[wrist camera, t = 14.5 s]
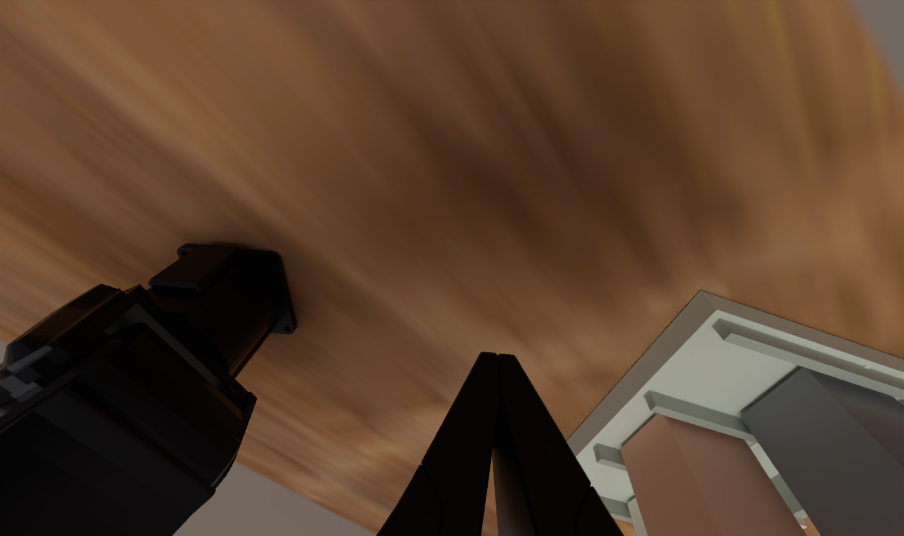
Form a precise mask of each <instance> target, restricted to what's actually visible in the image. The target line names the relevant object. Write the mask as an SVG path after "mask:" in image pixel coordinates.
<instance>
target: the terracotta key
mask: <svg viewBox="0 0 904 536" xmlns="http://www.w3.org/2000/svg"><path fill="white" fill-rule="evenodd" d="M620 451H621V454H622V457H623V460H624V463H625V466H626V470H627V473H628V476H629V479H630V482H631V485H632V488H633V491H634V494H635V498H636V501H637V504H638V507H639V510H640V513H641V516H642V519H643V523H644V526H645V529H646V532H647V535H648V536H807V535H806V533H805V532H804V530H803V529H802V527H801V526H800V524H799V523H798V521H797V520H796V518H795V516H794V515H793V513H792V512H791V510H790V509H789V507H788V506H787V504H786V503H785V501H784V499H783V498H782V496H781V495H780V493H779V492H778V490H777V489H776V487H775V486H774V484H773V482H772V481H771V479H770V478H769V476H768V475H767V473H766V472H765V470H764V469H763V467H762V465H761V464H760V462H759V461H758V459H757V458H756V456H755V455H754V453H753V452H752V450H751V448H750V447H749V445H748V444H747V442H746V441H745V440H744V439H741V438H738V437H734V436H731V435H728V434H724V433H721V432H718V431H714V430H711V429H708V428H704V427H701V426H698V425H694V424H691V423H688V422H685V421H681V420H678V419H675V418H671V417H668V416H665V415H661V414H657V415H656V416H655V417H654V418H653V419H651V420H650V421H649V422H648V423H647V424H646V425H645V426H644V427H643V428H642V429H641V430H640V431H639V432H638V433H637V434H636V435H634V436H633V437H632V438H631V439H630V440H629V441H628V442H627V443H626V444H625V445H624V446H623V447H622V448H621V449H620Z"/></svg>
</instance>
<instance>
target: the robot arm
mask: <svg viewBox="0 0 904 536" xmlns="http://www.w3.org/2000/svg"><path fill="white" fill-rule="evenodd" d="M177 254H178V256H179V260H177V261H176V262H174V263H173V264H172V265H170V266H169V267H167V268H166V269H164V270H163V271H161V272H160V273H158V274H157V275H155V276H154V277H152V278H151V279H150V281H149V282H148V284H149V286H150V288H149V289H147V290H145V289H144V288H143V287H142V286H141V285H140V284H139V285H137V286H134V287H132V288H130V289H127V290H125V291H122V290H121V289H119V288H118V289H116V288H113V287H110V286H107V285H104V284H100V285H98V286H95V287H93V288H92V289H90V290H88V291H87V292H85V293H83V294H82V295H80V296H78V297H77V298H75V299H73V300H72V301H70V302H69V303H67V304H65V305H64V306H62V307H61V308H59V309H57V310H56V311H54V312H53V313H51V314H50V315H48V316H47V317H46V318H44V319H43V320H41V321H40V322H39V323H37V324H36V325H34V326H33V327H32V328H30V329H29V330H28V331H26V332H25V333H23V334H22V335H21V336H19V337H18V338H17V339H15V340H14V341H12V342H11V343H10V344H8V345H7V346H6V351H5V356H4V361H3V362H2V363H1V364H0V536H172V535H173V534H174V533H175V532H176V531H177V530H178V529H179V528H180V527H181V526H182V525H183V523H184V522H185V521H186V520H187V519H188V518H189V517H190V516H191V515H192V514H193V513H194V512H195V511H196V510H198V509H199V508H200V507H201V506H202V505H203V504H204V503H205V502H207V501H208V500H209V499H210V498H211V497H212V496H213V495H214V493H215V491H216V487H217V486H218V485H219V484H220V483H221V481H222V480H223V479H224V478H225V476H226V475H227V473H228V472H229V470H230V468H231V467H232V465H233V463H234V461H235V458H236V456H237V453H238V450H239V448H240V445H241V442H242V439H243V436H244V434H245V431H246V428H247V425H248V423H249V420H250V417H251V414H252V412H253V409H254V406H255V403H256V401H257V397H256V396H255V395H254V394H252V393H251V392H248V391H247V390H246V389H245V388H244V387H243V386H242V385H241V384H240V383H239V382H238V381H236V380H235V378H236V377H237V376H238V374H239V373H240V372H241V370H242V369H243V368H244V367H245V365H246V364H247V363H248V361H249V360H250V359H251V357H252V356H253V355H254V354H255V352H256V351H257V350H258V348H259V347H260V346H261V345H262V343H263V342H264V341H265V339H266V338H267V337H268V335H269V334H270V333H271V332H272V333H281V334H292V333H294V331H295V330H296V328H297V325H296V321H295V317H294V313H293V308H292V304H291V300H290V296H289V292H288V288H287V284H286V280H285V276H284V271H283V267H282V263H281V259H280V257H279V256H278V255H277V254H275V253H273V252H266V251H255V250H244V249H240V248H236V247H225V246H214V245H204V244H202V245H189V244H184V245H183V246H181V247H179V248H178V249H177ZM269 259H271V260H272V261H273V262H271V261H270V260H269ZM491 458H492V462H493V474H494V486H495V498H496V510H497V523H498V535H499V536H624V535H623V533H622V532H621V530H620V528H619V527H618V525H617V524H616V522H615V520H614V519H613V517H612V516H611V514H610V513H609V511H608V509H607V508H606V506H605V505H604V503H603V501H602V500H601V498H600V496H599V495H598V493H597V491H596V489H595V488H594V487H593V486H591V481H590V480H589V478H588V476H587V475H586V473H585V471H584V470H583V468H582V466H581V465H580V463H579V461H578V460H577V458H576V456H575V455H574V453H573V451H572V450H571V448H570V446H569V445H568V443H567V441H566V440H565V438H564V436H563V435H562V433H561V431H560V430H559V428H558V426H557V425H556V423H555V421H554V420H553V418H552V416H551V415H550V413H549V411H548V410H547V408H546V406H545V405H544V403H543V401H542V400H541V398H540V396H539V395H538V393H537V391H536V390H535V388H534V386H533V385H532V383H531V381H530V380H529V378H528V376H527V375H526V373H525V371H524V370H523V368H522V366H521V365H520V363H519V361H518V360H517V358H516V357H515V356H514V355H511V354H498V356H497V354H496V353H492V352H481V353H480V354H479V356H478V358H477V360H476V362H475V364H474V365H473V367H472V369H471V371H470V373H469V375H468V376H467V378H466V380H465V382H464V384H463V386H462V388H461V389H460V391H459V393H458V395H457V397H456V399H455V401H454V402H453V404H452V406H451V408H450V410H449V412H448V413H447V415H446V417H445V419H444V421H443V423H442V425H441V426H440V428H439V430H438V432H437V434H436V436H435V437H434V439H433V441H432V443H431V445H430V447H429V449H428V450H427V452H426V454H425V456H424V458H423V460H422V462H421V465H419V467H418V468H417V470H416V472H415V474H414V476H413V478H412V480H411V481H410V483H409V485H408V486H407V488H406V490H405V492H404V493H403V495H402V497H401V498H400V500H399V502H398V504H397V505H396V507H395V508H394V510H393V511H392V513H391V514H390V516H389V517H388V519H387V520H386V522H385V523H384V525H383V526H382V528H381V529H380V531H379V532H378V534H377V535H376V536H481V532H482V525H483V517H484V510H485V502H486V495H487V488H488V480H489V473H490V466H491ZM590 486H591V487H590Z"/></svg>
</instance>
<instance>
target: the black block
mask: <svg viewBox="0 0 904 536" xmlns="http://www.w3.org/2000/svg"><path fill="white" fill-rule="evenodd" d="M741 418H742V419H743V421H744V422H745V424H746V425H747V427H748V428H749V430H750V431H751V433H752V434H753V436H754V437H755V439H756V440H757V441H758V443H759V444H760V446H761V447H762V449H763V450H764V452H765V453H766V455H767V456H768V458H769V459H770V461H771V462H772V464H773V465H774V467H775V468H776V470H777V471H778V473H779V474H780V475H781V477H782V478H783V480H784V481H785V483H786V484H787V486H788V487H789V489H790V490H791V492H792V493H793V495H794V496H795V498H796V499H797V501H798V502H799V504H800V505H801V507H802V508H803V509H804V511H805V512H806V514H807V515H808V517H809V518H810V520H811V521H812V523H813V524H814V526H815V527H816V529H817V530H818V532H819V533H820V535H821V536H904V406H903V405H902V404H901V403H899V402H898V401H897V400H896V399H895V398H894V397H893V396H890V395H887V394H884V393H881V392H878V391H875V390H872V389H869V388H866V387H863V386H860V385H857V384H854V383H851V382H848V381H845V380H842V379H839V378H836V377H833V376H829V375H826V374H823V373H820V372H817V371H814V370H811V369H808V368H805V367H802V368H801V369H800V370H798V371H797V372H796V373H795V374H793V375H792V376H791V377H789V378H788V379H787V380H786V381H784V382H783V383H782V384H781V385H779V386H778V387H777V388H775V389H774V390H773V391H772V392H770V393H769V394H768V395H766V396H765V397H764V398H763V399H761V400H760V401H759V402H757V403H756V404H755V405H754V406H752V407H751V408H750V409H748V410H747V411H746V412H745V413H743V414H742V415H741Z"/></svg>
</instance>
